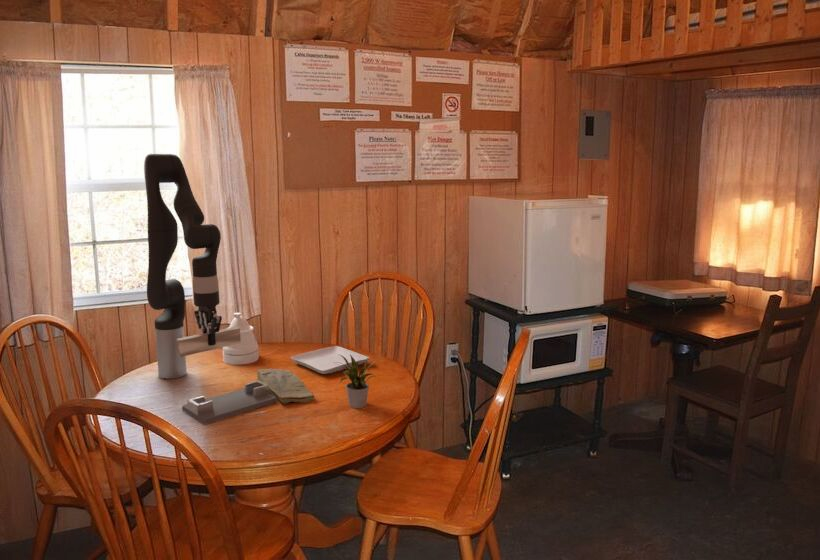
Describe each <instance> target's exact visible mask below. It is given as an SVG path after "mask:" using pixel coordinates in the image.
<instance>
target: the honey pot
mask: <svg viewBox="0 0 820 560" xmlns="http://www.w3.org/2000/svg"><path fill="white" fill-rule="evenodd" d="M233 316H234V317H233V319H231V322H230V324H229V325H228V326H229V327H227V328H232V327H238V328H240V340H241V343H239V344H235V345H231V346H226V347H222V360H223V362H224V363H225V364H227V363H228V364H227V365H233V366H234V365H237V366H238V365H247V364H251V363H255V362H257V361H258V360H259V358H260V357H259V355H260V354H259V344H258V342H257V339H256V335H255V334H254V332H253V331H254V329H255V327H254V326H252V325H250V324H249V322H248V320H247V319H246V318H245V317H244V316H243V315H242V313H241V312H234V313H233Z"/></svg>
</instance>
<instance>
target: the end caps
mask: <svg viewBox="0 0 820 560" xmlns="http://www.w3.org/2000/svg"><path fill="white" fill-rule="evenodd" d="M244 388H245V393H246V394H248V393H252V392H253V397H254V398H258V397H261V396H265V395H268V394H270V392H269V385H267V384H265V383H263V382H261V381H259V379H257V380H254V381H251V382H247V383H244ZM205 399H206V396H205V395H200V396H197V397H193V398H190V399H187V404H188V410H190V411H191V412H193V413H195V414H196V415H201V414H204V413H208V412H211V411H214V409H213V401H212V400H210V401H207V402H205Z"/></svg>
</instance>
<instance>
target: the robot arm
mask: <svg viewBox="0 0 820 560" xmlns="http://www.w3.org/2000/svg"><path fill="white" fill-rule="evenodd" d="M143 163H144V164H143V174H144V181H145V184H144V185H145V191H146V192H145V193H146V200H147V201H146V202H147V206H146V208H147V242H148V268H147V284H146V299H147V302H148V305H149V306H150V307H151V308H152V309H153V310H154V311H155V310H156V311H161V310H163V312H161V314H160V315H159V316H158V317H156V318H155V319H154V333H155V334H154V335H155V345H156V358H157V359H156V360H157V371H158V374H157V375H158V377H159V378H160V379H164V378H166V379H167V380H171V379H177V378H181V377H184V376H186V375H187V372H188V371H187V357H186V356H182V357H181V356H179V355H178V351H177V339H179V338H184V337H185V328H184V327H185V326H184V320H185V317H186V296H185V289H184V287H183V284H182V283H181V281H179V280H178V279H176V278H170V279H166V278H167V277H166V276H167V269H168V266H169V263H170V261H171V259H172V258H173V255H174V253H175V251H176V248H177V246H178V241H179V240H178V239H179V237H178V234H179V233H178V231H179V230H178V222H177V220H176V218H175V216H174V214H173V213H172V212H171V210H170V208H168V206H167V205H166V203H165V201H164V199H163V196H162V194H161V187H160V186H161V185H160V184H163V183H165V184H166V183H167V184H168V183H169V184H170V183H171V184H172V183H174V184H175V185H176V187H177V188H176V191H175V195H174V198H173V209H174V211H175V213H176V216H177V217H178V219H179V221H180V223H181V228H182V231H183V232H182V233H183V239H184V243H185V245H186V246H187V247H188V248H190V249H192V250H199V249H204V252H203V253H202V254H200V255H197V256H195V257H193V258H192V262H191V265H192V266H191V267H192V290H193V291H192V293H193V304H194V306H195V307H197V309H198V310H194V312H193V313H194V316H195V320H196V324H197V326H198V329H200V330H201V332H202V334H203V333H208V345H210V346H212V345H215V344H216V339H215V333H216V332H219V330H221V329H220V328H221V324H222V319H223V317H222V316H221V315H219V316H218V311H217V308H216V307H217V306H219V304H220V303H221V302H220V287H219V286H220V285H219V279H218V269H217V259H218V254H219V248H220V244H221V240H222V239H221V237H222V236H221V231H220V229H219V227H218V226H217V225H215V224H212V223H208V224H204V221H205V215H204V213H203V211H202V209H201V207H200V205H199V204H198V201H196V198H195V196H194V194H193V191H192V188H191V184H190V181H189V179H188V178H189V177H188V176H187V173H186V168H185V167H184V164H183V161H182V160H181V158H180V157H179V156H178V155H177V154H172V153H149V154H147V155H146V156H145V157H144V162H143ZM166 379H165V380H166Z"/></svg>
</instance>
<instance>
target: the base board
mask: <svg viewBox="0 0 820 560" xmlns="http://www.w3.org/2000/svg"><path fill="white" fill-rule="evenodd" d="M210 400H212V401H213V409H214V411H211V412H208V413H204V414H201V415H196V414H195V413H193V412H191V411H190V410H188V403H187V404H186V403H185V404H183V405H181V410H183V412H184V413H186V414H187V415H189V416H190V417H192V418H194V419H195V420H197V421H198V420H199V422H200V423H202V424H203V425H207V424H211V423H213V422H216V421H219V420H223V419H227V418H230V417H234V416H237V415H239V414H242V413H243V414H244V413H246V412H249V411H250V412H251V411H252V410H256V409H259V408H262V407H265V406H269V405H272V404H276V403H277V399H276V397H274V396H273V395H272V394H271V393H269V394H268V395H265V396H261V397H258V398H254V397H253V392H252V393H248V394H246V393H245V387H243V388H240V389H237V390H233V391H229V392H225V393H223V394H219V395H216V396H212V397H209V398H205V402H207V401H210Z"/></svg>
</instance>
